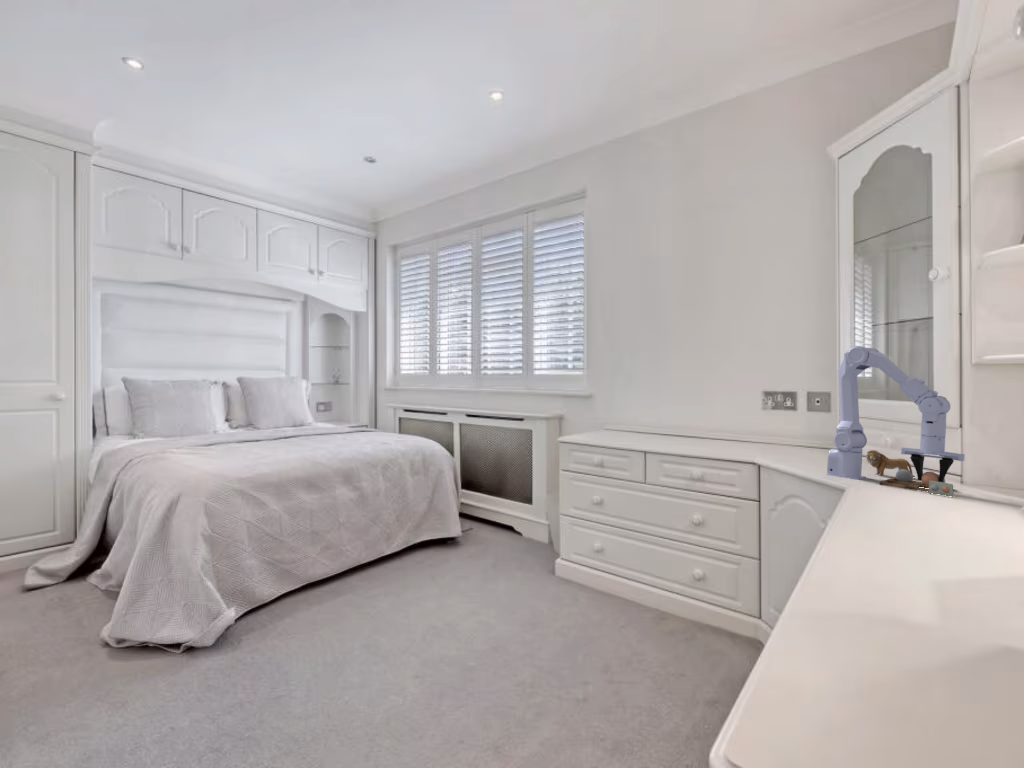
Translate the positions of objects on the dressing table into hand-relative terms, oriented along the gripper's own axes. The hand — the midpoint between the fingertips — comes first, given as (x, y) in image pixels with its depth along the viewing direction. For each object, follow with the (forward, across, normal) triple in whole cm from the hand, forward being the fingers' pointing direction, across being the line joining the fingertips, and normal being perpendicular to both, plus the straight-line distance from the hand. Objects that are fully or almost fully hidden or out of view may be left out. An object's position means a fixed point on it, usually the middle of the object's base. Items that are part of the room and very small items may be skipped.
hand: (930, 481), depth 153 cm
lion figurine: (+3, -15, +19) cm, 24 cm away
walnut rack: (+3, -4, +4) cm, 6 cm away
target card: (+3, +4, -6) cm, 7 cm away
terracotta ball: (+1, 0, 0) cm, 1 cm away
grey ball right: (+3, 0, +7) cm, 8 cm away
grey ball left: (+3, -8, +7) cm, 11 cm away
